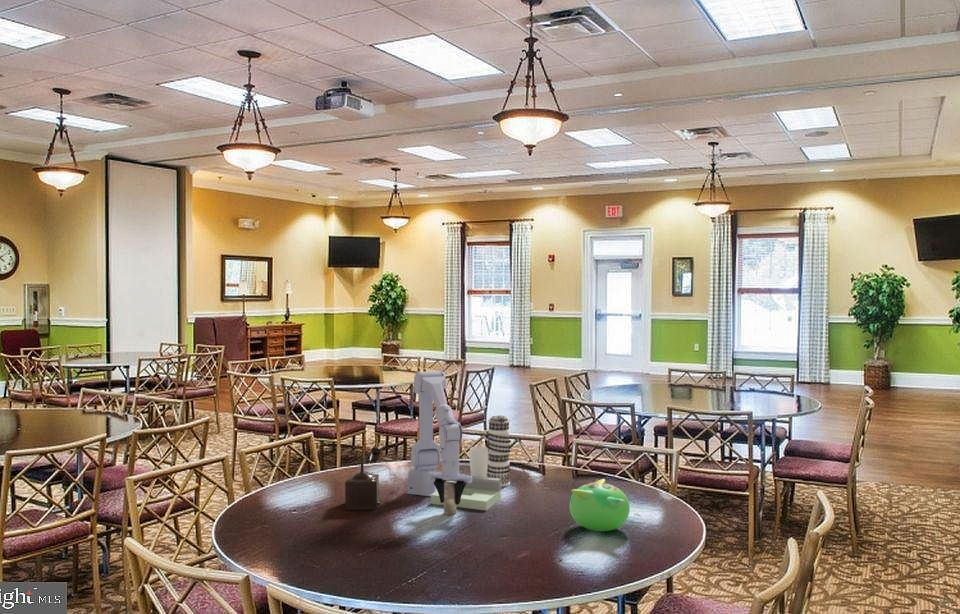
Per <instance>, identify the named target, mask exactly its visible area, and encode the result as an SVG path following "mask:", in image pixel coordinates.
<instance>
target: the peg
mask: <svg viewBox="0 0 960 614" xmlns="http://www.w3.org/2000/svg"><path fill="white" fill-rule="evenodd" d="M455 483H457V482H455V481H446V482H444V505H443V514H444V515H445V516H454V515H457V507H456V503H455V496H456V495H455V487H454V484H455Z"/></svg>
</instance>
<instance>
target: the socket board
mask: <svg viewBox="0 0 960 614" xmlns="http://www.w3.org/2000/svg"><path fill="white" fill-rule="evenodd" d="M467 475H468V476H471V474H470V475H469V474H467ZM446 481H448V480H446ZM455 482H457V481H455ZM501 488H502V487H501V479H499V478H489V477H488V476H487V477H480V476H472V483H467V484H466V486H465V488H464V490H463V492H462V495H461V499H460V503H459V504H458V505H456V508H463V509H472V510H479V511H488V510H489V509H490V508H491V507H492V506H494V505H495V504H496V503H498V502H499V501H500V500H501V491H502V489H501ZM430 504H432V505H438V506H439V505H440V506H444V502H443V503H441V502H440V497H439V494H438V491H436V492H435V493H433V494H432V495H431V496H430Z"/></svg>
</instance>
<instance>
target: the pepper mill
mask: <svg viewBox="0 0 960 614" xmlns="http://www.w3.org/2000/svg"><path fill="white" fill-rule="evenodd" d="M382 452H383V449H382V448H381V447H379V446H373V447H371V448H370V453H371V455H372V458H371V460H364V459H365V457H364V456H360V457H359V459H360V460H359V464H360V471H359V472H357V473H355V474H349V475H348V477H347V479H346V481H345V482H344V486H345V487H344V489H345V492H344V493H345V498H344V499H345V503H344V504H345V507H344V509H345V511H346V512H347V511H348V512H349V511H354V512H355V511H363V512H364V511H377V509H378V507H379V505H380V504H381V501H380V498H379V495H380V491H379V489H380V486H379V485H380V479H379V477H380V474H378V473H375V474H374V472H373V471H371V472H369V471H367V470H366V471H365V470H364V464H365V465H366V464H371V463H376V462H378V461H380V460H381V458H380V456H381V454H382Z"/></svg>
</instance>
